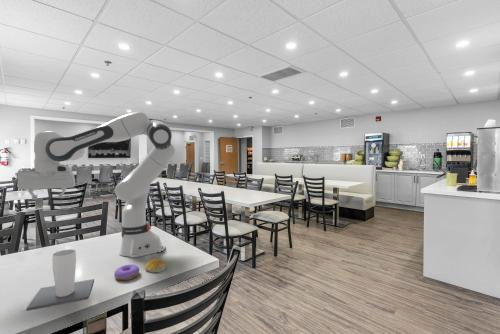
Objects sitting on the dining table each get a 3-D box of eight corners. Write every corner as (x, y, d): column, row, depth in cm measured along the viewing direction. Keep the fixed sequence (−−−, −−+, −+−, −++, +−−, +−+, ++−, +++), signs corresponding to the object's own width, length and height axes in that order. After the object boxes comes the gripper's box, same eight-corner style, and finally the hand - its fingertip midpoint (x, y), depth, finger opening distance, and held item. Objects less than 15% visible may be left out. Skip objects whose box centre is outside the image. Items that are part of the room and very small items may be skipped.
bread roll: (156, 263, 118) (156, 255, 118) (169, 268, 114) (169, 259, 113) (140, 270, 111) (140, 261, 111) (153, 275, 106) (153, 265, 106)
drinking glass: (81, 291, 92) (80, 250, 91) (61, 300, 86) (60, 257, 85) (68, 287, 94) (67, 248, 94) (48, 296, 88) (47, 254, 88)
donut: (115, 272, 108) (117, 261, 108) (138, 273, 111) (140, 262, 112) (111, 282, 99) (114, 270, 99) (136, 283, 102) (139, 272, 102)
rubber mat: (93, 280, 101) (93, 279, 101) (88, 298, 88) (88, 296, 88) (40, 289, 94) (40, 288, 94) (26, 310, 81) (26, 308, 81)
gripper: (14, 168, 105) (14, 201, 105) (73, 167, 113) (73, 198, 114) (20, 167, 110) (21, 198, 111) (75, 167, 119) (76, 196, 120)
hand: (48, 198), depth 112 cm, fingers open, 8 cm apart
